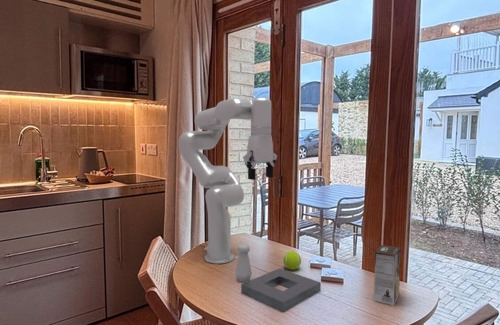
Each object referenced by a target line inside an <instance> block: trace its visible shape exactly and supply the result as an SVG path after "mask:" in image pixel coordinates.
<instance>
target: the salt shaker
mask: <svg viewBox="0 0 500 325" xmlns="http://www.w3.org/2000/svg"><path fill="white" fill-rule="evenodd" d="M250 250H251V249H250V245H249V244H246V243H242V244H238V246H237V251H238V252H239V253H238V257H237V258H238V259H237V262H236V263H237V264H236V269H235V276H236V279H237V281H238V282H240V283H245V282H248V281H250V280H251V276H252V269H251V268H252V267H251V263H250V258H249V252H250Z"/></svg>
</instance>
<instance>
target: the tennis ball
mask: <svg viewBox="0 0 500 325" xmlns="http://www.w3.org/2000/svg"><path fill="white" fill-rule="evenodd" d="M282 261H283V264H284V266H285V268H287V269H288V270H293V271H294V270H297V269H298V268H299V267H301V263H302V257H301V256H300V254H299V253H298V252H296V251H292V250H291V251H287V252H286V253H285V254H284V255H283V260H282Z"/></svg>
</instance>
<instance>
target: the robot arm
mask: <svg viewBox="0 0 500 325" xmlns="http://www.w3.org/2000/svg"><path fill="white" fill-rule="evenodd" d="M232 119H236V120H238V119H239V120H250V135H249V136H248V140H247V146H246V147H247V150H246V151H247V152H246V154H245V155H243V157H242V159H243V162H244V165H245V166H246V169H247V180H251V181H253V180H254V181H255V180H256V165H257V164H266V166H265V177H266V178H271V179H272V178H273V177H274V167H275V164H276V162H277V158H278V154H276V153H275V152H274V143H273V138H272V101H271V99H270V98H268V97H256V98H255V97H254V98H253V99H246V98H236V97H234V98H233V97H232V98H229V99H224V100H221V101H219V102H217V104H216V106H215V107H211V108H207V109H205V110H201V111H199V112H198V113H197V114H196V115H195V117H194V124H195V126H196V127H197V128H199V129H200V130H191V131H190V130H189V131H185V132H183V133H182V134H181V135H180V137H179V138H178V148H179V152H180V154H181V157H182V159H184V161H185V162H186V163H187V164H188V166H189V167H190V169H191V170H192V173H193V174H194V176H195V177H196V179H197V181H198V183H199V184H200V185H201V188H205V189H207V190H206V192H205V196H204V197H205V203H206V209H207V240H208V241H207V242H208V243H207V245H206V246H205V247H204V251H206V254H205V255H204V260H205V262H207V263H210V264H216V265H217V264H218V265H220V264H227V263H231V262H232V261H234V259H235V254H234V253H232V252H231V247H232V246H231V241H232V240H231V239H232V238H231V230H232V229H231V225H232V224H231V215H230V213H229V210H228V208H229V207H234V206H238V205H240V204H241V203H243V202H244V199H245V193H244V190H243V187H242V185H241V184H240V182H239V181H238V179H237V178H236V176H235V174H234V173H233V172H232V170H231V169H230V168H229V167H227V166H225V165H213V164H211V162H210V160H209V159H208V158H207V156H206V155H205V154H203V152H201V150H212V149H214V148H215V147H216V145H217V144H218V143H219V140H220V139H221V137H222V135H223V133H224V132H225V129H226V127H227V125H228V124H229V123H230V120H232Z"/></svg>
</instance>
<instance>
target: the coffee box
mask: <svg viewBox="0 0 500 325" xmlns="http://www.w3.org/2000/svg"><path fill="white" fill-rule="evenodd" d="M401 250H402V248H401V247H398V246H397V247H396V246H390V245H385V244H380V245H379V246H378V248H377V249H376V250H375V251H374V282H373V283H374V286H373V287H374V288H373V301H374V302H377V303H378V302H379V303H383V304H386V305H390V306H395V305H396V303H397V300H398V298H399V296H400V285H401V284H400V279H401V277H400V276H401V274H400V273H401Z"/></svg>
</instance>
